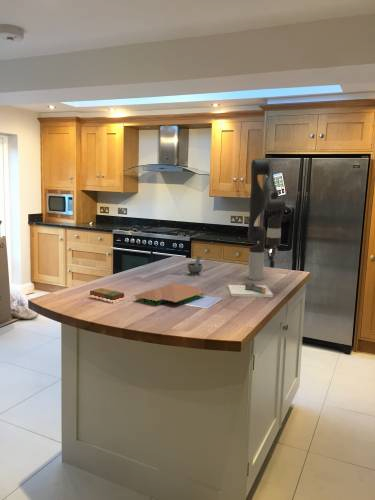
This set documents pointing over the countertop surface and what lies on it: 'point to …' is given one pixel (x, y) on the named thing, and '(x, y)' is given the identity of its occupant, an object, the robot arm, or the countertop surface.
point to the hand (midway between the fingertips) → (271, 267)
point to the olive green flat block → (107, 293)
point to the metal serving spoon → (254, 287)
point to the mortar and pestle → (195, 267)
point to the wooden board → (171, 293)
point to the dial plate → (248, 291)
